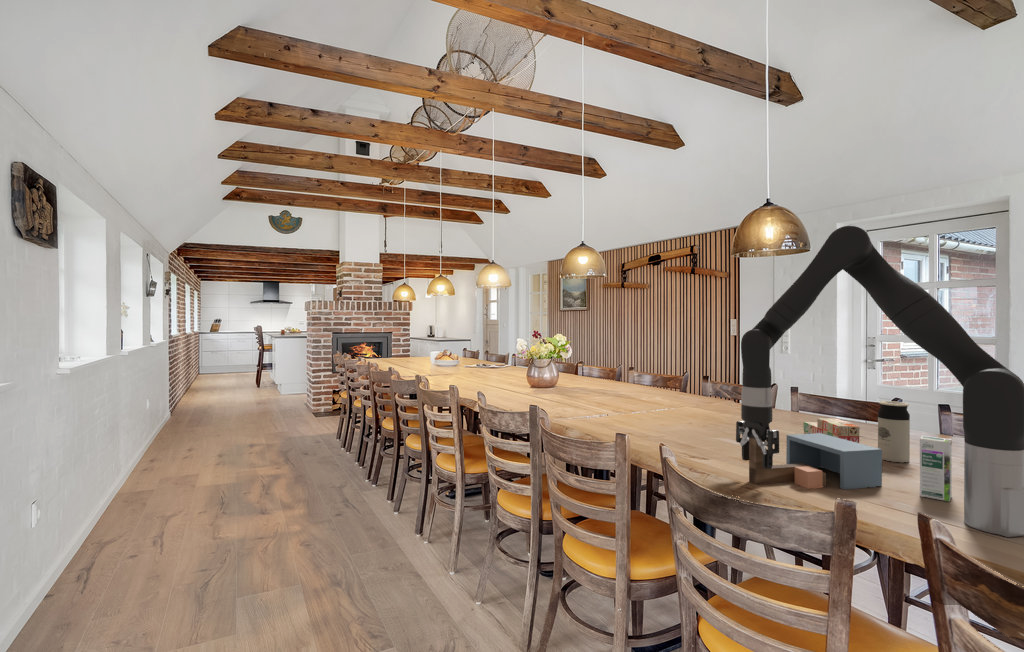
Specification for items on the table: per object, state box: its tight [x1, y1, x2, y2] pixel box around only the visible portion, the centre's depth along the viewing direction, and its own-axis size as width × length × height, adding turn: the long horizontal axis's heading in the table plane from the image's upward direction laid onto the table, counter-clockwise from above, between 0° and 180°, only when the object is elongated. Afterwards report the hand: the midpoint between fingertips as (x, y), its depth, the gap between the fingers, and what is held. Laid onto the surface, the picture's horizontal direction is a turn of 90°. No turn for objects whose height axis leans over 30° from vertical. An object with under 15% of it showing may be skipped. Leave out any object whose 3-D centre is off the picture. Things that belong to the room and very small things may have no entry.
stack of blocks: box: [803, 417, 861, 443], centre depth 162 cm, size 21×6×12 cm, turn 175°
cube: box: [794, 466, 824, 490], centre depth 133 cm, size 4×4×4 cm
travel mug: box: [877, 400, 911, 464], centre depth 158 cm, size 8×8×18 cm
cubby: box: [785, 433, 883, 491], centre depth 140 cm, size 20×12×10 cm, turn 12°
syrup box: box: [919, 435, 953, 503], centre depth 124 cm, size 6×6×14 cm
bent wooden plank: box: [748, 437, 827, 488], centre depth 134 cm, size 8×17×12 cm, turn 102°
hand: (756, 464), depth 135 cm, fingers open, 8 cm apart
